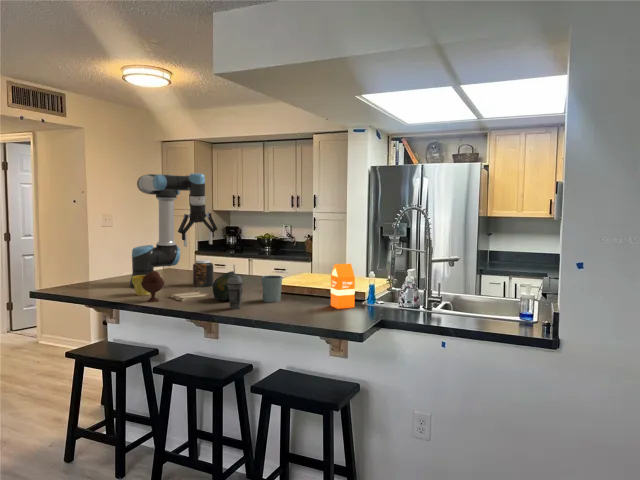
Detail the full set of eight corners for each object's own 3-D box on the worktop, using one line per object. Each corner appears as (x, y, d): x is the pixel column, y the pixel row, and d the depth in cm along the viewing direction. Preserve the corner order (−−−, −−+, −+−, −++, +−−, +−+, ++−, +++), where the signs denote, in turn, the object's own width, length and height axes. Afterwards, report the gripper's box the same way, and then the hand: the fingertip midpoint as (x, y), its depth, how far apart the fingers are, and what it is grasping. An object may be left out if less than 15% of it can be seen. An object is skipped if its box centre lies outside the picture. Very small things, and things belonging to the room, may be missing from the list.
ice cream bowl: (168, 299, 243) (167, 269, 242) (158, 303, 232) (158, 272, 231) (147, 298, 245) (147, 269, 243) (137, 303, 233) (136, 272, 232)
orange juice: (330, 305, 229) (330, 263, 227) (347, 304, 232) (347, 262, 231) (337, 308, 222) (337, 265, 220) (354, 307, 225) (355, 264, 224)
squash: (201, 289, 239) (218, 268, 235) (220, 286, 253) (236, 266, 248) (219, 310, 235) (236, 289, 230) (237, 306, 249) (253, 285, 244)
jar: (210, 287, 279) (210, 261, 278) (190, 287, 279) (190, 261, 278) (215, 283, 290) (215, 259, 289) (196, 283, 291) (195, 258, 290)
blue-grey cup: (257, 300, 240) (257, 276, 239) (273, 297, 247) (272, 274, 246) (271, 303, 233) (271, 278, 232) (286, 300, 240) (286, 276, 239)
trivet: (169, 296, 249) (169, 294, 249) (197, 293, 259) (196, 290, 258) (182, 301, 237) (181, 298, 237) (210, 297, 247) (209, 294, 247)
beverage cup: (229, 310, 217) (229, 266, 216) (225, 307, 224) (224, 264, 222) (245, 308, 221) (245, 265, 219) (240, 305, 227) (240, 263, 226)
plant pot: (127, 295, 252) (127, 277, 252) (142, 292, 262) (141, 274, 261) (143, 297, 248) (143, 278, 248) (157, 293, 258) (157, 275, 257)
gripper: (175, 206, 236) (177, 248, 240) (223, 204, 250) (223, 244, 254) (170, 204, 242) (171, 246, 246) (217, 202, 256) (217, 241, 260)
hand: (198, 245), depth 250 cm, fingers open, 13 cm apart
